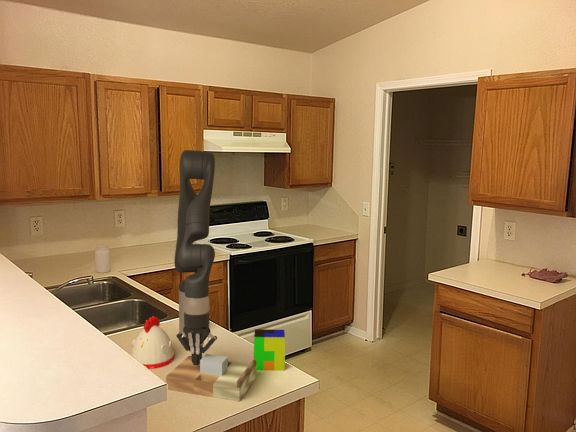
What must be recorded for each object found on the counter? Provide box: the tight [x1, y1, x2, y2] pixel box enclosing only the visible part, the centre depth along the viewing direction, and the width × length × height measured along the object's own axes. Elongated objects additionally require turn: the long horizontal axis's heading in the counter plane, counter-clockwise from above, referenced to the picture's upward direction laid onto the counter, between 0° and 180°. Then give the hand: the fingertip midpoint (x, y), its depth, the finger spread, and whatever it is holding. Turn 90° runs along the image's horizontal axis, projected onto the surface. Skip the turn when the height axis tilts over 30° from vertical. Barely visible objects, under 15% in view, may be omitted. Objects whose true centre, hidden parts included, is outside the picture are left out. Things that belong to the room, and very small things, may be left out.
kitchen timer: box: [130, 315, 175, 370], centre depth 160 cm, size 14×14×15 cm
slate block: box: [200, 353, 229, 376], centre depth 145 cm, size 4×7×4 cm, turn 75°
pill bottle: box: [94, 243, 112, 274], centre depth 268 cm, size 8×8×15 cm
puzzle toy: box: [253, 328, 286, 372], centre depth 160 cm, size 10×10×10 cm
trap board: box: [165, 355, 257, 402], centre depth 146 cm, size 15×23×6 cm, turn 75°
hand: (196, 364), depth 147 cm, fingers closed
